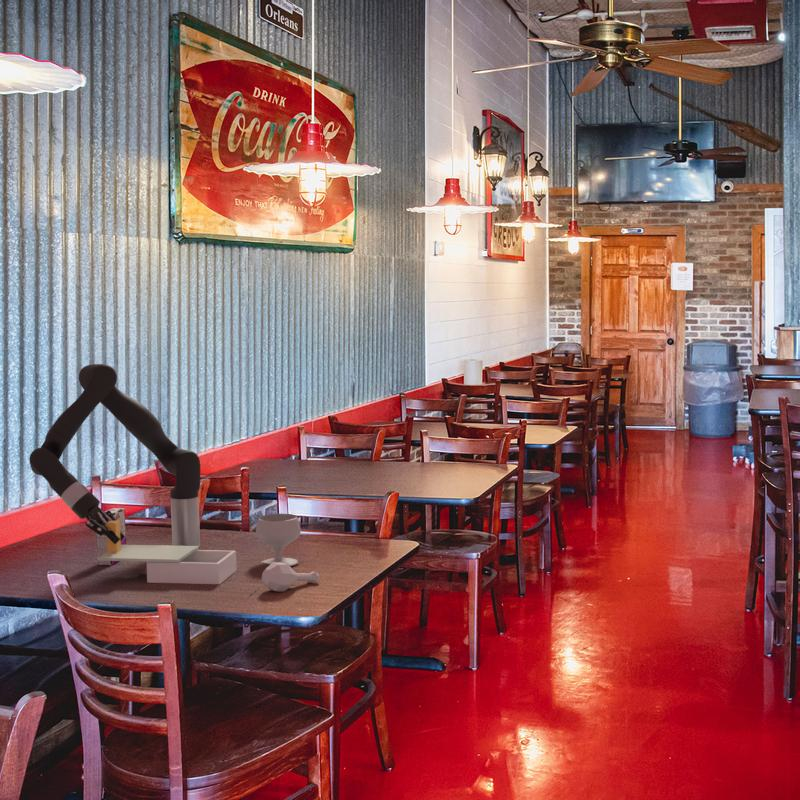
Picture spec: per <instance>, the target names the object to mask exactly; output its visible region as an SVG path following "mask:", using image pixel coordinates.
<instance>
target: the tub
mask: <svg viewBox="0 0 800 800" xmlns="http://www.w3.org/2000/svg"><path fill="white" fill-rule="evenodd" d="M237 569H238V568H237V550H221V549H209V550H208V549H197V550H196V551H194V552H193V553H191V554H190V555H189V556H187V557H186V558H184V559H183V560H181V561H180V562H146V582H147V583H155V584H156V583H157V584H159V583H160V584H193V585H198V584H199V585H200V584H201V585H220V584H222V583H223V582H224V581H226V579H228V578H229V577H230V576H232V575H233V574H234V573H235V572H236V571H237Z"/></svg>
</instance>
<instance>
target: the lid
mask: <svg viewBox="0 0 800 800" xmlns="http://www.w3.org/2000/svg"><path fill="white" fill-rule="evenodd" d="M107 525H108V526H109V528H110V529H111V531H113V532H114V533H115V534H116V535H117V536H118V537H119V538H120V521H109V522H107ZM199 548H200V547H199V546H172V544H171V545H170V544H169V545H167V544H165V545H162V544H160V545H157V544H151V545H150V544H126V545H121V538H120V540H119V541H118V542H117V543H116V544H114V543H113V542H112V541H111V540H110V539H109V538H108V537H107V553H105V554H103V555H101V556H100V557H98V556H97V557H96V561H97V562H98V561H119V562H180V561H181V560H183V559H184V558H186V557H187V556H189V555H190V554H191V553H193V552H194V551H196V550H200V549H199Z"/></svg>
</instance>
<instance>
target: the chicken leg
mask: <svg viewBox="0 0 800 800" xmlns="http://www.w3.org/2000/svg"><path fill="white" fill-rule="evenodd" d="M320 576H321V575H319V573H318V571H310V572H309V573H307V572H306V573H302V572H301V573H299V572H297V571H295V570H294V569H293V568H292V566H289V565H287V564H284V563H277V562H273V563H271V564H268V566H267V567H266V568H265V569H264V570H263V572H262V575H261V580H262V583H263V584H264V585H265V587H266V588H268V589H269V590H271V591H273V592H286V591H287V590H288V589H290V587H291V586H293V585H294V584H295V583H297V582H308V583H311V584H312V583H313V584H315V583H317V582H318V581H319V580H320Z"/></svg>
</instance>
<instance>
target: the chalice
mask: <svg viewBox="0 0 800 800" xmlns="http://www.w3.org/2000/svg"><path fill="white" fill-rule="evenodd" d="M301 529H302V528H301V524H300V521H299V519H298V516H297V515H295V514H291V513H270V514H265V515H264V514H263V515H261V516H260V517H259V518H258V520H257V522H256V527H255V535H256V538H257V539H258V540H259V541H260V542H262V543H264V544H266V545H268V546H270V547H271V548H272V549H273V550H274V551H275V557H272V558H267V559H264V560H262V561H261V563H265V564H267V565H270V564H271V563H273V562H277V563H284V564H287V565H289V566H290V567H293V566H296V565H298V564H299V560H298V559H295V558H291V557H284V555H283V553H282V552H283V550H284V549H285V548H286V547H287V546H288V545H289V544H292V543H294V541H296V540H297V539H298V538H299V537H300V536H301Z"/></svg>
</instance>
